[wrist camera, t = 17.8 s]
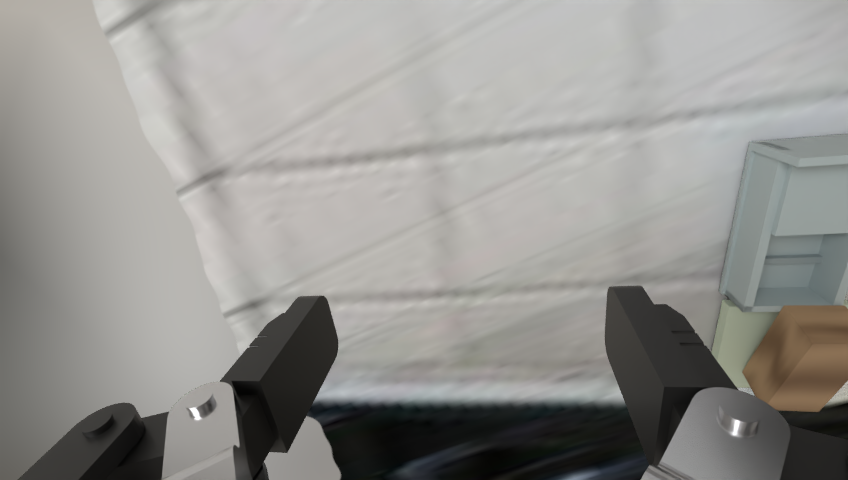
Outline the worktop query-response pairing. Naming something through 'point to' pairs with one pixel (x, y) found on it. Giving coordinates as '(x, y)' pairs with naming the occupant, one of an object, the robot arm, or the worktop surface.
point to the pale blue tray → (790, 226)
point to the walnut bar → (801, 358)
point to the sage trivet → (740, 338)
